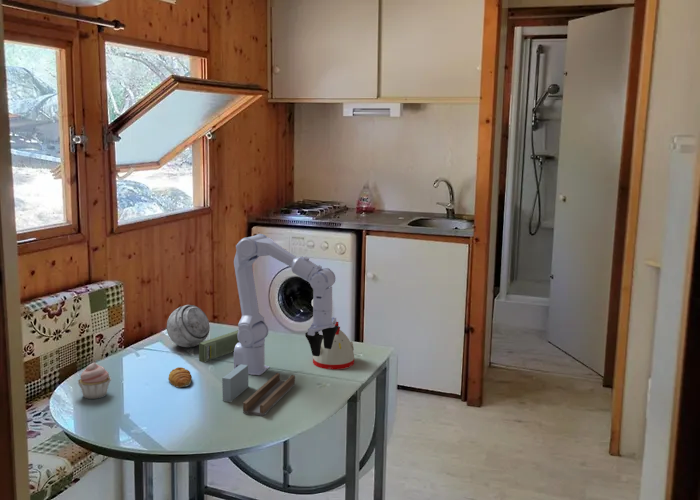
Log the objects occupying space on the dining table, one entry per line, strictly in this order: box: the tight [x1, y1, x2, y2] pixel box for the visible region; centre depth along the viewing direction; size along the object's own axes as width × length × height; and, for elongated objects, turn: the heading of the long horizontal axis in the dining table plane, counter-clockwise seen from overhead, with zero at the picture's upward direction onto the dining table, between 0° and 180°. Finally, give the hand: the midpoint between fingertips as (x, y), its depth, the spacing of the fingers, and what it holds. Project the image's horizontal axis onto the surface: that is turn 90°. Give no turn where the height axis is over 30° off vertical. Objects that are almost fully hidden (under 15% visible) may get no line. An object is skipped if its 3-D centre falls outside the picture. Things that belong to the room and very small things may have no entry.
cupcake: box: [77, 362, 112, 400], centre depth 197 cm, size 9×9×10 cm
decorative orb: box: [166, 304, 211, 348], centre depth 241 cm, size 15×14×15 cm
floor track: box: [242, 372, 296, 417], centre depth 197 cm, size 6×24×3 cm, turn 164°
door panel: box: [221, 364, 249, 403], centre depth 200 cm, size 2×12×7 cm, turn 164°
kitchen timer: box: [312, 321, 355, 370], centre depth 227 cm, size 14×14×15 cm
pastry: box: [167, 367, 193, 389], centre depth 208 cm, size 9×7×4 cm
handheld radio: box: [198, 329, 239, 363], centre depth 237 cm, size 7×3×25 cm
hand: (322, 352), depth 208 cm, fingers open, 7 cm apart
